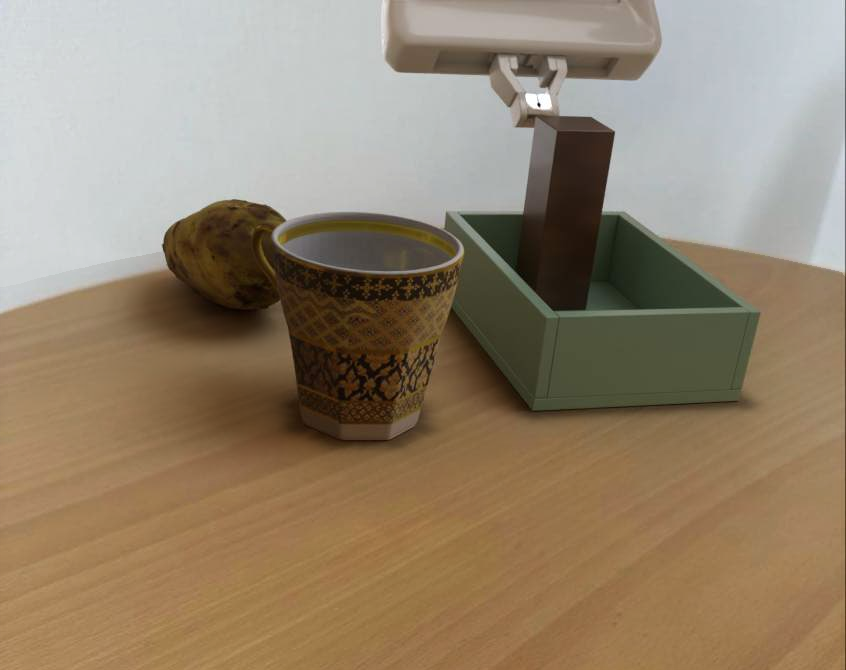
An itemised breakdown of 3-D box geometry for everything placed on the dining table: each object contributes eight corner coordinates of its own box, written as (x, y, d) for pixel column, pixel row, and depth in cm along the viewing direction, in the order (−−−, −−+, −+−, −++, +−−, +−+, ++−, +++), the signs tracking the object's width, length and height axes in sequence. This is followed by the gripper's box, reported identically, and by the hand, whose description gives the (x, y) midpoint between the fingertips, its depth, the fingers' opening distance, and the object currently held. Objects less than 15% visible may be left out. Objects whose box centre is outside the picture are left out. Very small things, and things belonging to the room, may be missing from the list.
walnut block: (564, 289, 83) (591, 116, 77) (586, 310, 80) (615, 131, 73) (512, 290, 82) (535, 115, 75) (532, 311, 79) (557, 129, 72)
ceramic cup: (480, 415, 66) (501, 244, 61) (372, 476, 59) (385, 288, 54) (308, 349, 72) (313, 188, 67) (191, 397, 65) (187, 221, 60)
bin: (611, 287, 86) (624, 211, 83) (739, 401, 71) (761, 311, 68) (438, 291, 83) (445, 210, 80) (532, 411, 67) (546, 317, 64)
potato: (280, 276, 83) (282, 163, 78) (307, 348, 72) (311, 221, 68) (162, 276, 81) (157, 159, 76) (171, 350, 70) (167, 219, 66)
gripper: (377, -92, 77) (403, 93, 75) (653, -72, 83) (686, 101, 80) (359, -28, 83) (382, 145, 81) (617, -13, 89) (647, 150, 86)
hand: (536, 123), depth 81 cm, fingers closed
